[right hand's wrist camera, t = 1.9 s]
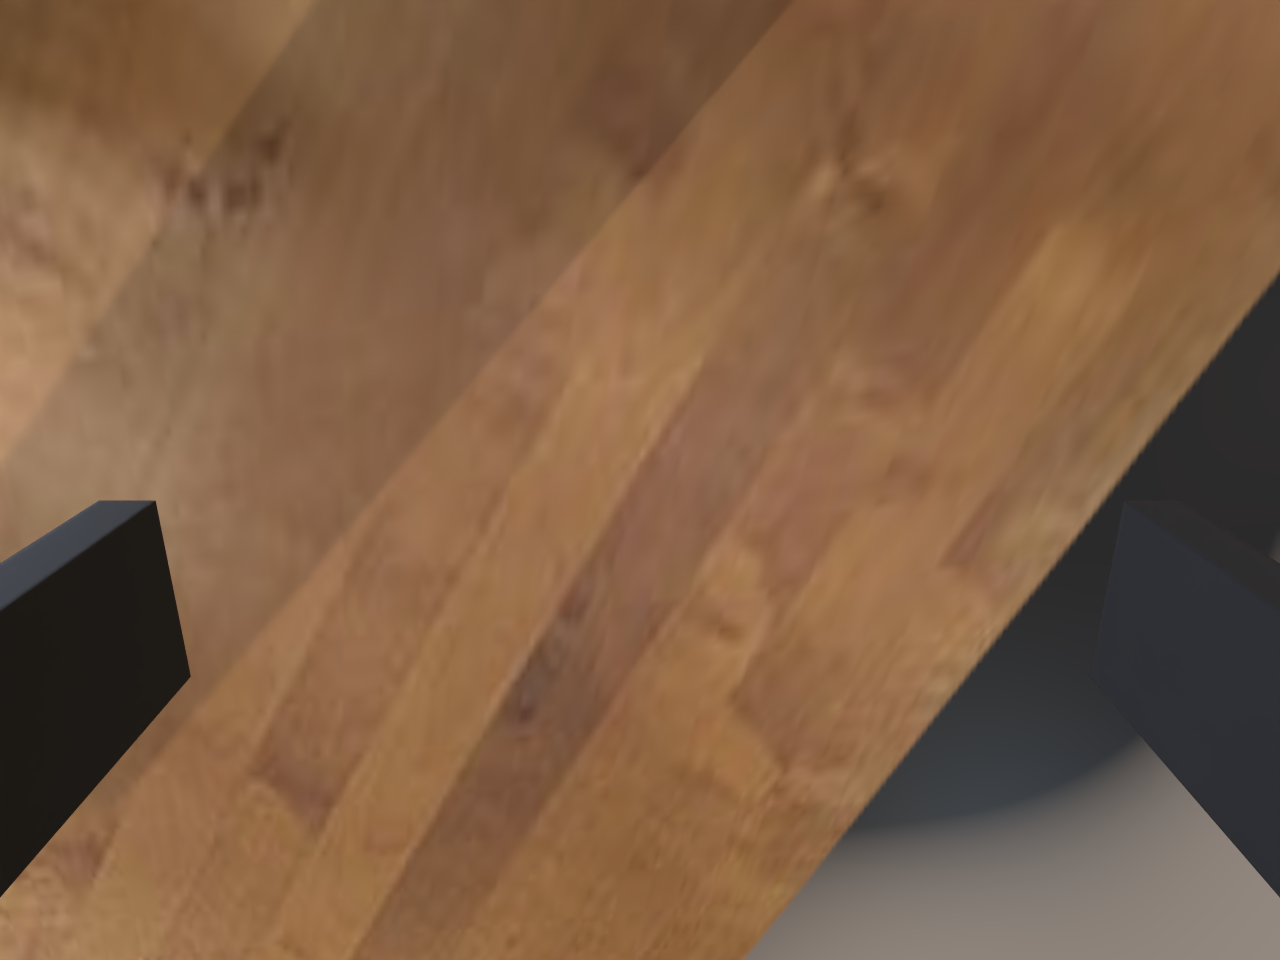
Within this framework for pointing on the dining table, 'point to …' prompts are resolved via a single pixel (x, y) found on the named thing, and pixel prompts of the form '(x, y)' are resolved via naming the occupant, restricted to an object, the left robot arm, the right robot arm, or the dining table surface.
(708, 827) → the dining table surface
